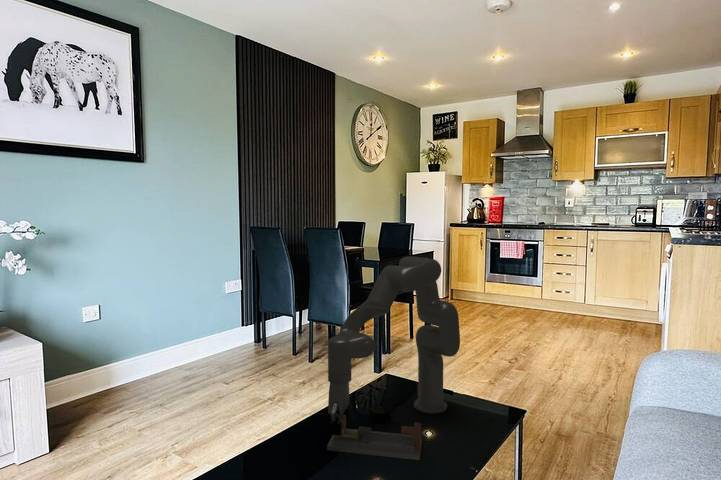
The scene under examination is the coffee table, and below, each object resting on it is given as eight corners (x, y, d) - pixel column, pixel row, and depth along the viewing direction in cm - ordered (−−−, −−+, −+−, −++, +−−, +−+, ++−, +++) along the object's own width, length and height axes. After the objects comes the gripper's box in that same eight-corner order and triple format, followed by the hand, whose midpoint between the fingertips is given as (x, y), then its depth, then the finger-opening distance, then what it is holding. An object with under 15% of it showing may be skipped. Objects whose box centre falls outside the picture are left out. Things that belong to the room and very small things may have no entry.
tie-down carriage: (337, 433, 145) (337, 413, 145) (371, 437, 143) (371, 416, 143) (333, 441, 141) (333, 420, 140) (369, 445, 138) (368, 423, 138)
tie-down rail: (335, 434, 148) (335, 410, 148) (421, 443, 142) (421, 417, 142) (327, 450, 138) (326, 423, 138) (419, 460, 133) (419, 433, 132)
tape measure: (391, 422, 157) (391, 412, 157) (373, 425, 155) (373, 414, 155) (385, 414, 164) (385, 404, 164) (367, 416, 162) (367, 406, 161)
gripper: (335, 365, 151) (335, 414, 152) (320, 384, 134) (321, 439, 135) (356, 367, 149) (356, 416, 150) (344, 386, 132) (344, 441, 133)
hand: (340, 427), depth 142 cm, fingers open, 9 cm apart
